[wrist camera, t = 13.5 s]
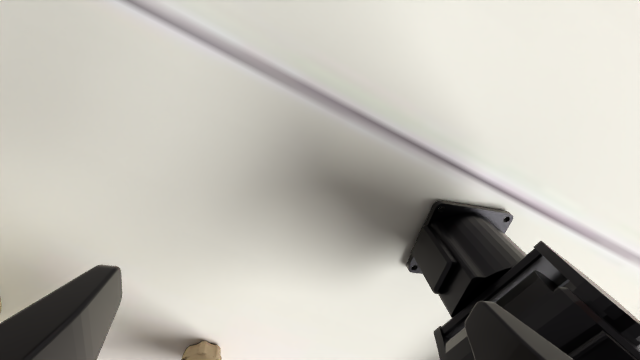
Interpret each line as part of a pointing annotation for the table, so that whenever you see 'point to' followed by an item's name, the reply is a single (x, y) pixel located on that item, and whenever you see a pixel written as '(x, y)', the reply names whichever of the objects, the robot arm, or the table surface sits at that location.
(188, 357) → the handle
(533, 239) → the table surface
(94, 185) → the table surface
